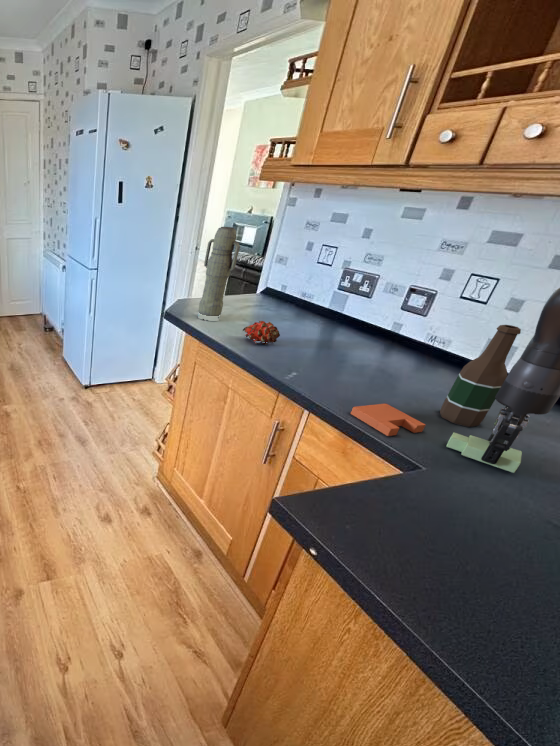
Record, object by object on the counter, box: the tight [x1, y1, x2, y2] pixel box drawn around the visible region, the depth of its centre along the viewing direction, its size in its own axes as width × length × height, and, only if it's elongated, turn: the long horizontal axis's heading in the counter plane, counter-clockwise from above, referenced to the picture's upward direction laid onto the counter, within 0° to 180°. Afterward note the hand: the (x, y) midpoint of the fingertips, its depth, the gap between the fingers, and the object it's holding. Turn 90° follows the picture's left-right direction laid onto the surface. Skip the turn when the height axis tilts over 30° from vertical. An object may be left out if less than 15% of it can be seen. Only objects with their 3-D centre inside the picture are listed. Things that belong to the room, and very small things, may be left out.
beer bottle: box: [439, 324, 522, 428], centre depth 96 cm, size 8×8×24 cm
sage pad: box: [446, 432, 523, 474], centre depth 87 cm, size 6×11×2 cm, turn 42°
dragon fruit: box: [242, 320, 281, 345], centre depth 144 cm, size 8×8×12 cm
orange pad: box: [350, 403, 426, 437], centre depth 99 cm, size 10×10×2 cm
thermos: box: [197, 226, 241, 322], centre depth 161 cm, size 9×12×35 cm
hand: (489, 455), depth 87 cm, fingers closed on sage pad, 6 cm apart
